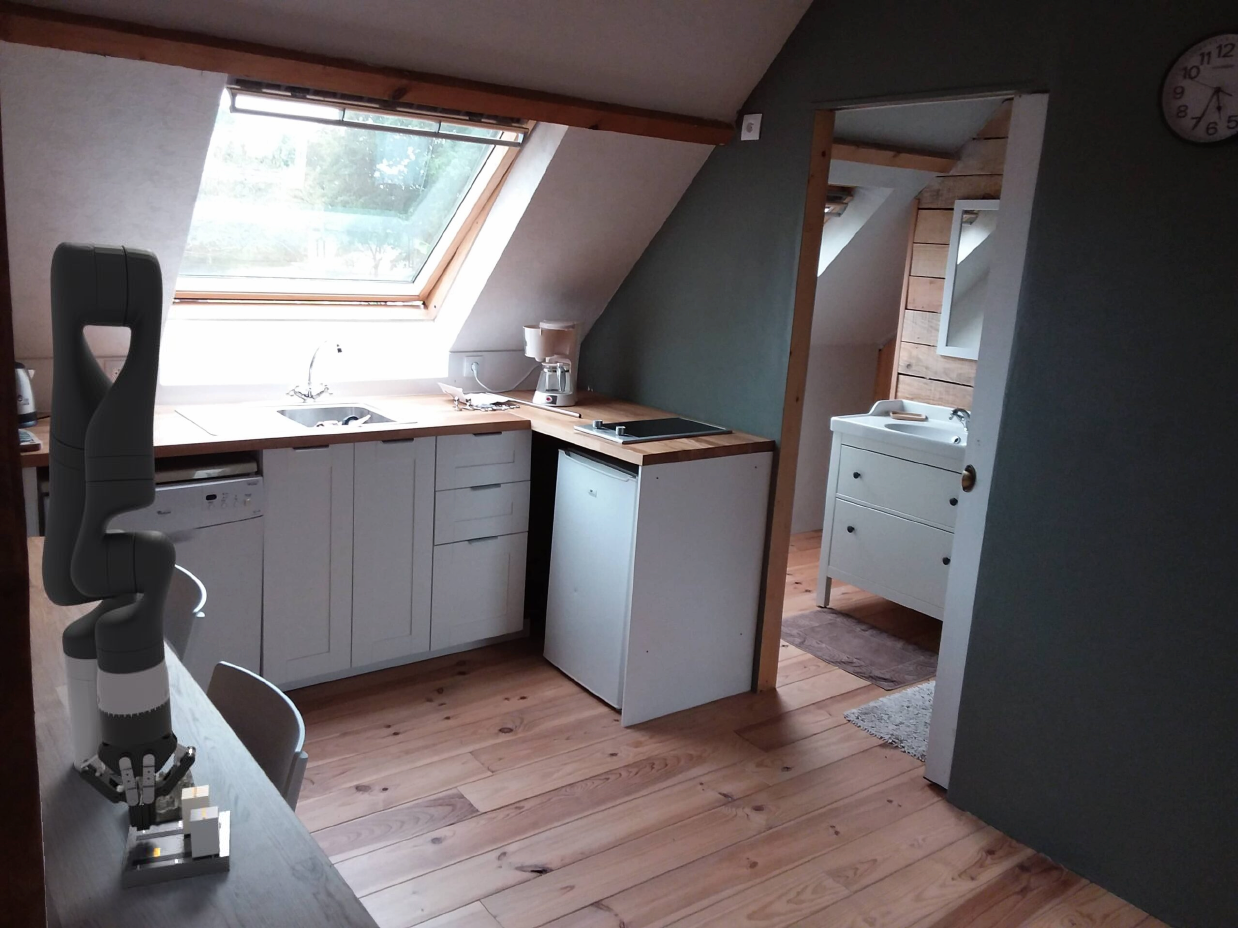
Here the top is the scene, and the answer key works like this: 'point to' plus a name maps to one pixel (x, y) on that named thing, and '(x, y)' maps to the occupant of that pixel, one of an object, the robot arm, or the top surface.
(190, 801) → the ivory cap
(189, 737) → the top surface
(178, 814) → the egg carton
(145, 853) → the fader console
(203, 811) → the slate fader cap
